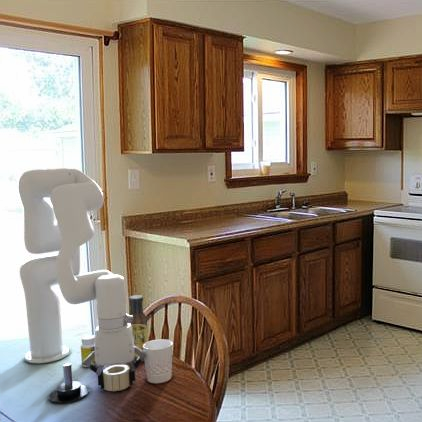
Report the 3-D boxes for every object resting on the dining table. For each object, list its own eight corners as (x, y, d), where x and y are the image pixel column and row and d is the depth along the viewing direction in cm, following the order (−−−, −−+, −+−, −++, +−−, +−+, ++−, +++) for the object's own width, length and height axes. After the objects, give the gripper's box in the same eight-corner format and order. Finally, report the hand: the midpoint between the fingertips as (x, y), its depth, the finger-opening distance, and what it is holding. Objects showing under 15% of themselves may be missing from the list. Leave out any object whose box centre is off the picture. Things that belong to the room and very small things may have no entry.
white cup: (139, 379, 149) (137, 344, 148) (163, 370, 155) (161, 337, 154) (155, 387, 144) (153, 351, 143) (179, 377, 150) (177, 343, 148)
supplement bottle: (93, 367, 158) (91, 340, 157) (78, 367, 159) (76, 339, 158) (101, 361, 162) (99, 334, 162) (87, 360, 163) (85, 334, 162)
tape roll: (105, 381, 147) (104, 366, 146) (130, 378, 148) (129, 363, 148) (102, 392, 140) (101, 376, 140) (129, 389, 142) (128, 373, 141)
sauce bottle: (125, 364, 160) (121, 300, 157) (129, 356, 166) (126, 294, 163) (147, 363, 160) (143, 299, 158) (150, 355, 166) (147, 293, 164)
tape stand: (52, 389, 144) (50, 359, 143) (91, 384, 147) (89, 355, 146) (45, 406, 135) (42, 374, 134) (87, 400, 137) (84, 369, 136)
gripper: (146, 314, 148) (150, 375, 150) (80, 320, 144) (85, 383, 146) (146, 322, 141) (150, 387, 143) (76, 329, 137) (81, 396, 139)
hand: (117, 384), depth 144 cm, fingers closed on tape roll, 6 cm apart
